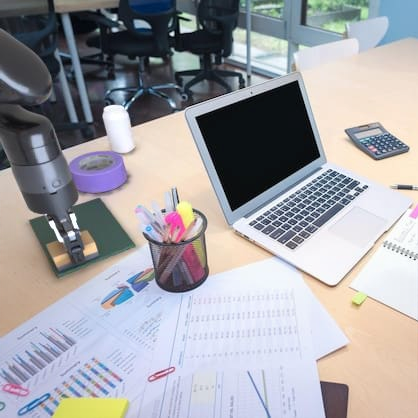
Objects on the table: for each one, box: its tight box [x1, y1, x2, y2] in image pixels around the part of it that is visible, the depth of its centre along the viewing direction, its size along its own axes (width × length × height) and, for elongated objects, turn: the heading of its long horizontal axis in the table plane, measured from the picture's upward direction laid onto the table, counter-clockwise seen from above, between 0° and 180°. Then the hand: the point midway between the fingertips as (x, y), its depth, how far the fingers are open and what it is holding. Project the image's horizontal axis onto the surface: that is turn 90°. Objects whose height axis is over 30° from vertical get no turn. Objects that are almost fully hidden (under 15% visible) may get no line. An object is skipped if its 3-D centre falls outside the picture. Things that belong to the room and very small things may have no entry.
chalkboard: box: [28, 197, 137, 279], centre depth 80 cm, size 14×20×1 cm
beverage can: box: [102, 104, 136, 154], centre depth 105 cm, size 6×6×12 cm
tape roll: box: [68, 150, 128, 194], centre depth 94 cm, size 12×12×5 cm
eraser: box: [46, 230, 99, 272], centre depth 73 cm, size 7×4×4 cm, turn 132°
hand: (75, 255), depth 74 cm, fingers closed on eraser, 4 cm apart
